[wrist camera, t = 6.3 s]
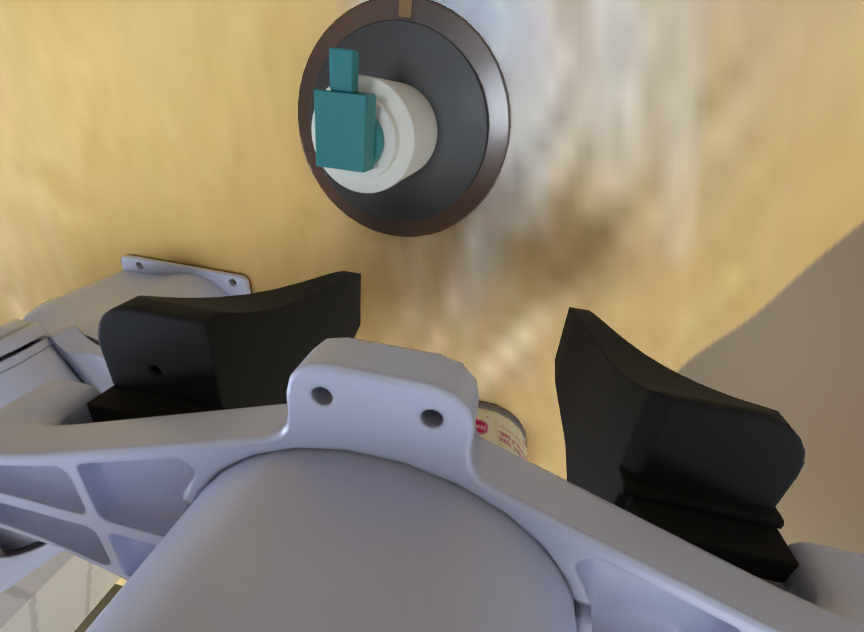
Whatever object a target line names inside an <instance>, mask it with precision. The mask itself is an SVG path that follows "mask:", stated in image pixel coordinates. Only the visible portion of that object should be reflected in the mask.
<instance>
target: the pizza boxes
mask: <svg viewBox="0 0 864 632" xmlns="http://www.w3.org/2000/svg"><path fill="white" fill-rule="evenodd" d="M119 578H120V577H119V576H117V575H115V574H113V573H111V572H109V571H107V570H105V569H102V568H100V567H98V566H96V565H94V564H92V563H90V562H88V561H86V560H83V559H81V558H79V557H77V556H74V555H72V554H70V553H68V552H65V551H62V552H60V553H59V554H57V555H55V556H54V557H52V558H51V559H49V560H48V561H47V562H45V563H44V564H42V565H41V566H39V567H38V568H37V569H35V570H34V571H32V572H31V573H30V574H28V575H27V576H26V577H24V578H23V579H22V580H20V581H19V582H18V583H16V584H15V585H14V586H12V587H11V588H9V589H8V590H5V591H3V592H2V593H0V632H74V631H75V630H76V628H77V627H78V626H79V625H80V624H81V623H82V621H83V620H84V619H85V618H86V617H87V616H88V614H89V613H90V612H91V611H92V610H93V609H94V607H95V606H96V605H97V604H98V603H99V601H100V600H101V599H102V598H103V597H104V595H106V593H107V592H108V591H109V590H110V589H111V587H112V586H113V585H114V584H115V583H116V582H117V581H118V579H119Z"/></svg>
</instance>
